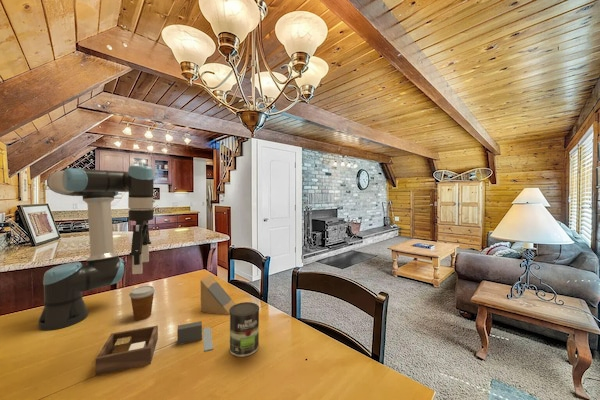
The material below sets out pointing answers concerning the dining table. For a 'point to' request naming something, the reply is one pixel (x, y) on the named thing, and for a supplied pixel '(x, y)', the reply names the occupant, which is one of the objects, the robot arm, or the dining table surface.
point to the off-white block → (137, 345)
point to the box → (127, 359)
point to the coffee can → (244, 329)
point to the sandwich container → (214, 297)
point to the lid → (195, 334)
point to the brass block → (122, 344)
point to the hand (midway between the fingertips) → (141, 267)
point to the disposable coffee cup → (142, 301)
